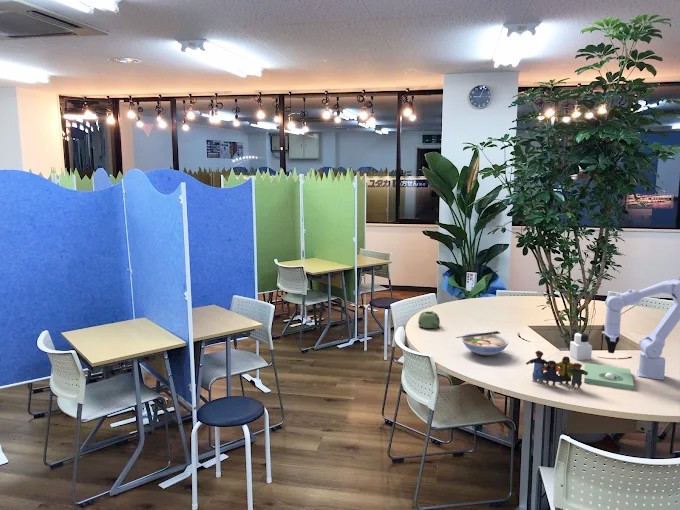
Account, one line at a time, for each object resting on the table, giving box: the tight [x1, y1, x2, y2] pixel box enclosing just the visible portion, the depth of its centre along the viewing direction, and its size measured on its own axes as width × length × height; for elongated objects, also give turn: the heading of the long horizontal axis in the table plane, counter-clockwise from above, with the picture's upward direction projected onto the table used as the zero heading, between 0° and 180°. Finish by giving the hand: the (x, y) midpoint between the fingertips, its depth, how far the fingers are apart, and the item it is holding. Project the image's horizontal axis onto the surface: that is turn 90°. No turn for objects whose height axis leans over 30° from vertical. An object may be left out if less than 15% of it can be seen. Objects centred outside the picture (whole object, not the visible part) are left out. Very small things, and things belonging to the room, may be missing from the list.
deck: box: [583, 362, 635, 391], centre depth 211 cm, size 18×20×2 cm
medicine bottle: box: [569, 332, 593, 361], centre depth 235 cm, size 7×7×12 cm
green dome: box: [417, 310, 441, 329], centre depth 292 cm, size 16×13×9 cm
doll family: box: [525, 350, 588, 391], centre depth 204 cm, size 23×9×13 cm, turn 76°
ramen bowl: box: [455, 330, 509, 356], centre depth 243 cm, size 25×23×8 cm
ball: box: [605, 373, 614, 379], centre depth 207 cm, size 4×4×4 cm
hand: (611, 352), depth 216 cm, fingers closed
